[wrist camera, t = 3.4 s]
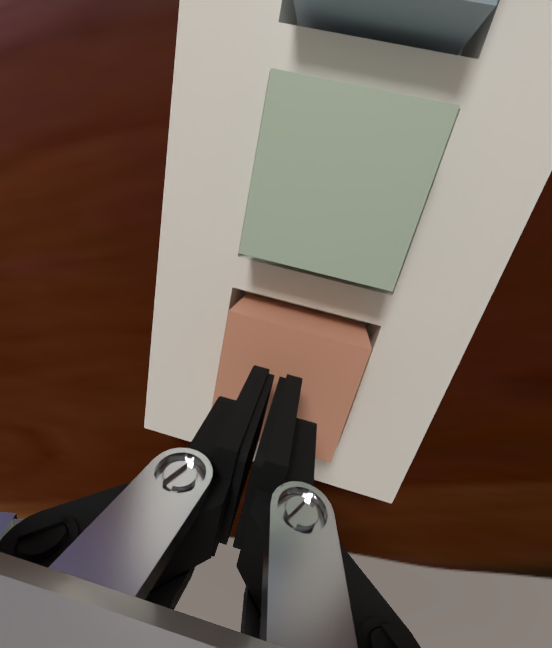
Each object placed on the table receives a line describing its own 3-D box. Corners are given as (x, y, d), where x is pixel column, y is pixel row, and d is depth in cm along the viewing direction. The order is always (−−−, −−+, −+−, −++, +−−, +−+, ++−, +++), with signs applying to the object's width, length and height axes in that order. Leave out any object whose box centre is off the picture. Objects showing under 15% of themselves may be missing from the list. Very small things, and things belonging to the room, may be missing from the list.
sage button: (429, 131, 11) (459, 105, 8) (380, 276, 12) (392, 291, 10) (285, 101, 11) (270, 67, 8) (257, 245, 13) (238, 252, 10)
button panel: (674, -220, 9) (838, -428, 6) (382, 456, 17) (391, 503, 14) (251, -266, 10) (218, -462, 7) (173, 394, 18) (144, 427, 15)
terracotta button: (364, 323, 13) (371, 348, 11) (331, 420, 15) (330, 462, 12) (248, 292, 13) (228, 310, 11) (229, 391, 15) (208, 426, 13)
